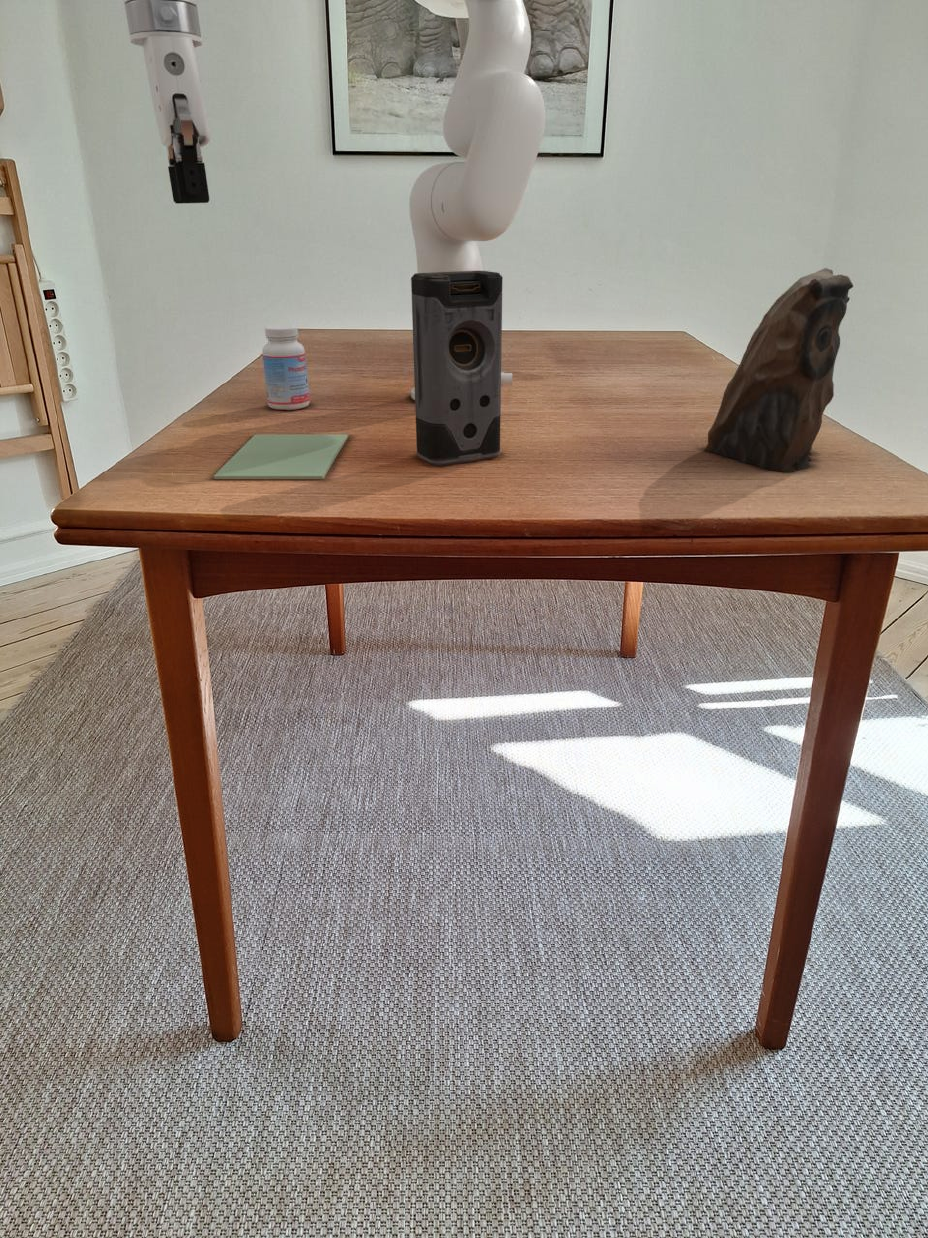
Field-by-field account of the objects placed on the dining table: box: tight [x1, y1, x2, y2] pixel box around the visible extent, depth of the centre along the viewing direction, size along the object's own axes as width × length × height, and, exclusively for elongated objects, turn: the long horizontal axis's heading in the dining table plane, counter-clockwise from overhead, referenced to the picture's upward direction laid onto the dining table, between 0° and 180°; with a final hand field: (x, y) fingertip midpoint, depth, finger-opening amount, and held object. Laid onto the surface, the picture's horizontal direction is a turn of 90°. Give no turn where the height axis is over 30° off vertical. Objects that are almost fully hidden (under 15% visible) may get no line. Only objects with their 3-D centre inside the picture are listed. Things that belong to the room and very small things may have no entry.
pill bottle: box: [261, 324, 310, 411], centre depth 118 cm, size 6×6×11 cm
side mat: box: [213, 433, 349, 480], centre depth 96 cm, size 12×18×1 cm, turn 179°
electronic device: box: [410, 270, 503, 467], centre depth 91 cm, size 9×6×20 cm, turn 117°
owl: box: [704, 267, 854, 473], centre depth 90 cm, size 13×13×20 cm
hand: (191, 202), depth 97 cm, fingers open, 9 cm apart
